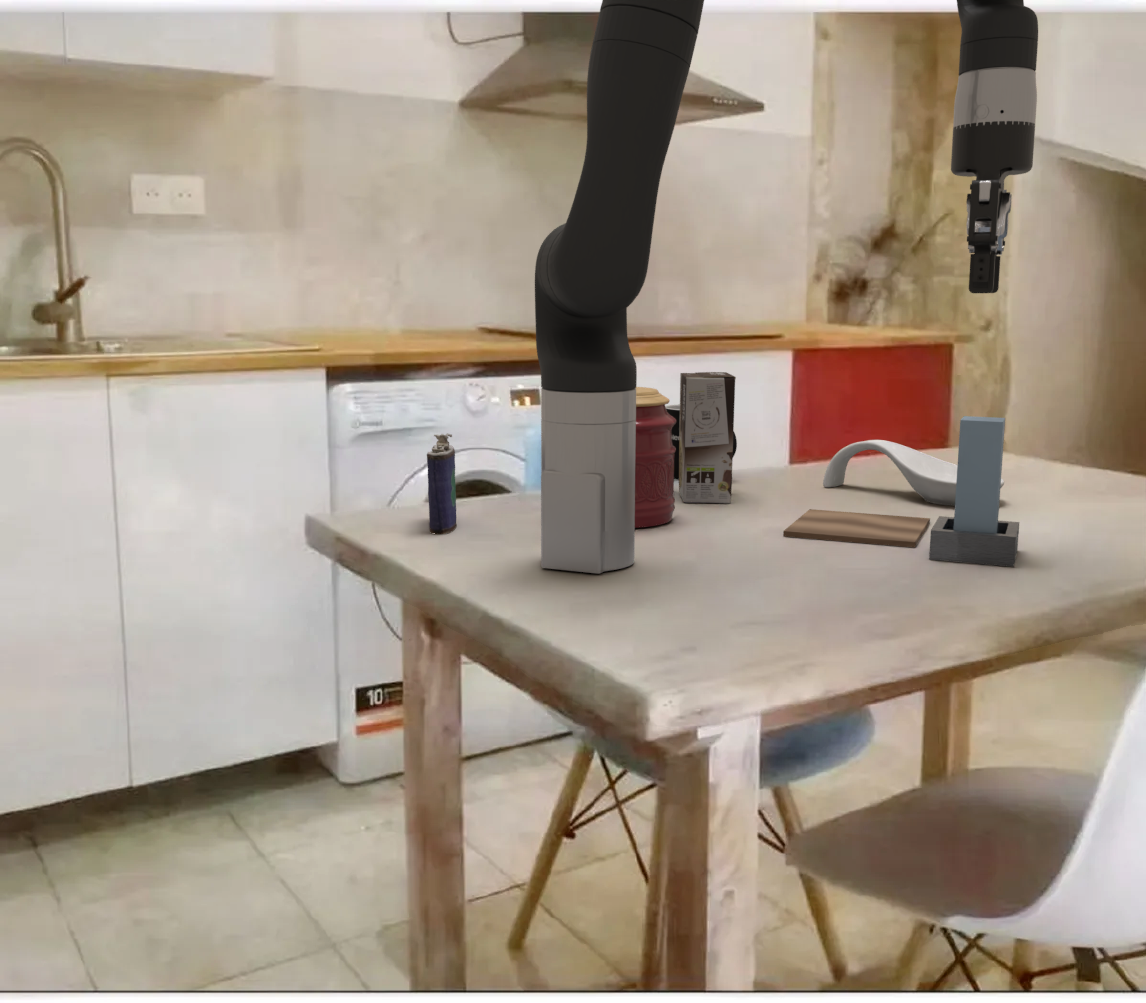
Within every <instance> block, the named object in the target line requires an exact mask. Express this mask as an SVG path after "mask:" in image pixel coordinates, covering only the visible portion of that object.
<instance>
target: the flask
mask: <svg viewBox="0 0 1146 1003" xmlns="http://www.w3.org/2000/svg"><path fill="white" fill-rule="evenodd" d="M433 437H435V438H436V440H437V441H436V444H435V445H433V446H432V447H431V451H427V453H426V461H427V487H428V490H427V496H428V514H429V515H428V517H429V518H428V519H429V520H428V521H429V532H431V533H430V534H432V533H435V534H434V535H447V534H450V533H452V532H454V530H455V529H456V528H457V525H458V524H457V494H456V491H457V490H456V488H457V487H456V486H457V485H456V463H455V462H456V450H455V448H454V446H453V445H451V444H450V442H449V437H450V438H453V434H450V433H446V434H444V433H441V434H433ZM451 531H452V532H451ZM446 533H447V534H446Z"/></svg>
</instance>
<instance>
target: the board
mask: <svg viewBox="0 0 1146 1003" xmlns="http://www.w3.org/2000/svg"><path fill="white" fill-rule="evenodd" d="M930 523H931V518H930V517H917V516H904V515H891V514H880V513H879V514H878V513H865V512H851V511H840V510H839V511H838V510H826V509H824V510H823V509H813V508H810V509H808V510H807V511H806V512H804V513H803V514H802V515H801V516H800V517H798V518H797V519H796V520H794V522H792V523H791V524H790V525H789V526H788V527H786V528H785V529H784V530H783V534H782V535H783V537H785V538H800V539H809V540H810V539H811V540H822V541H834V542H842V543H843V542H844V543H858V544H865V545H866V544H869V545H878V546H879V545H881V546H890V547H891V546H892V547H903V548H913V549H914V548H916V547H917V545H918V543H919V541H920V540H921V538H922V537H923V535H924V533H925V532H926V530H927V528H928V527H929V526H930Z"/></svg>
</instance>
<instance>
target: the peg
mask: <svg viewBox="0 0 1146 1003" xmlns="http://www.w3.org/2000/svg"><path fill="white" fill-rule="evenodd" d="M959 421H960V422H959V435H958V436H959V437H958V450H957V451H958V452H957V453H958V454H957V465H958V466H957V482H956V497H955V505H954V516H953V517H954V529H953V530H959V531H971V532H984V533H997V529H998V521H999V516H1000V515H999V513H1000V498H1001V489H1000V487H1001V478H1002V470H1003V456H1004V443H1005V428H1006V417H997V416H996V417H993V416H992V417H991V416H990V417H989V416H971V415H970V416H967V415H964V416H963V417H962V418H961V419H960V420H959Z"/></svg>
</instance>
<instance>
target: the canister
mask: <svg viewBox="0 0 1146 1003" xmlns="http://www.w3.org/2000/svg"><path fill="white" fill-rule="evenodd" d="M669 403H670V398H668V397H666V396H665V395H663V394H662V393H661V392H659V390H658V389H657V388H654V387H653V388H652V387H645V386H644V387H643V386H636V446H635V529H641V528H651V527H657V526H660V525H664V524H667V523H669V522H671V521H672V520H673V515H674V511H675V507H676V505H675V502H676V499H675V495H674V492H675V490H674V489H675V486H674V484H675V482H674V481H675V478H674V453H675V452H676V448H675V446H673V445H672V433H671V430H672V427H673V426H674V425H675V424H676V419H675V418H674V417H673V416H671V415H670V414H668V412H667V410H666V407H665V406H666V405H667V404H668V405H669Z"/></svg>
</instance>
